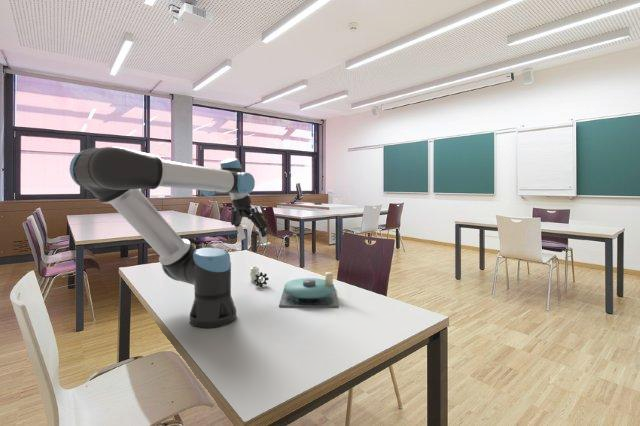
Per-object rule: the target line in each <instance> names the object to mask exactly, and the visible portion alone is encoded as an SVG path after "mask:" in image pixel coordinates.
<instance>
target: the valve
mask: <svg viewBox="0 0 640 426" xmlns="http://www.w3.org/2000/svg"><path fill="white" fill-rule="evenodd" d="M249 275H250V282H251V283H255V286H256V287H258V286H259V287H260V288H262V287H263V285H267V284H268V282H267V281H269V277H267V273H263V271H260V267H259V266H252V267H251V266H250V274H249Z"/></svg>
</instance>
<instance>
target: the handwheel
mask: <svg viewBox="0 0 640 426" xmlns="http://www.w3.org/2000/svg"><path fill="white" fill-rule="evenodd" d="M324 274H325V275H324V277H325V279H322V278H315V277H314V278H313V277H303V278H296V279H292V280H288V281H287V282H285V283H284V287H283V290H284V291H285V293H286V294H288V295H290V296H293V297H297V298H308V299H310V298H321V297H326V296H329V295H331V294H332V293H333V292H334V287H335V284H334V281H333V280H334V273H333V272H330V271H328V272H327V271H326V272H325V273H324Z"/></svg>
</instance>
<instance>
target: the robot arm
mask: <svg viewBox="0 0 640 426" xmlns="http://www.w3.org/2000/svg"><path fill="white" fill-rule="evenodd" d="M69 173H70V177H71V179H72V181H74V183H75V184H76V185H78V186H79V187H81V188H82V189H84V190H88V191H90V193H92V195H93V196H94V197H95V198H97V200H98V201H100V202H101V203H102V204H110V205H111V206H112V207H113V208H114V209H115V210H116V211H117V213H118V214H120V215H121V216H122V217H123V219H124V220H126V222H127V223H128V224H129V225H130V226H131V227H132V228H133V229H134V230H135V231H136V232H137V233H138V234H139V235H140V236H141V238H142V239H144V241H145V242H146V243H148V245H149V246H150V247H151V248H152V249H153V250H154V251H155V252H156V253H157V254H158V255H159V258H158V261H159V263H160V264H161V267H162V271H163V273H164V274H165V275H166V276H167V277H168V278H170V279H171V280H174V281H177V282H182V283H186V284H188V285H189V284H190V285H193V286H194V300H193V303H192V305H191V309H190V311H189V324H190V325H191V326H193V327H197V328H202V329H211V328H212V329H213V328H218V327H222V326H227V325H228V324H230V323H232V322H234V321H235V320H236V319H237V308H236V306H235V302H234V300H233V299H234V298H233V297H232V262H231V256H230V253H229V252H228V251H227V250H225V249H222V248H218V247H214V248H213V247H201V248H198V249H197V248H196V247H195V245H193V243H192V242H191V241H190V240H189V239H187V238H181V237H180V235H179V234H178V233H177V232H176V231H175V229H173V227H172V226H171V224H169V223H168V222H167V220H166V219H165V218H164V217H163V215H162V214H161V213H160V212H159V211H158V209H156V208H155V206H154V205H153V204H152V202H150V200H149V199H148V198H147V197H146V196H145V195H144V193H143V192H142V191H141V189H143V190H145V189H146V190H156V189H158V188H159V187H161V188H162V187H164V188H174V189H175V188H176V189H184V190H185V189H186V190H198V191H199V192H200V193H201V194H202V195H203V196H205V197H211V196H215V194H218V193H219V194H228V195H229V197H230V199H231V202H232V206H231V207H230V210H231V217H230V225H231V226H234V227H235V229H236V232H237V234H238V237H239V240H240V241H243V240H244V239H246V238H247V237H246V233H245V231H244V226H243V224H242V220H243V218H247V219H248V220H250V222H251V223H253V224H254V226H255V227H256V228H257V229H258V230H257V233H258V236H259V239H260V241H261V245H265V244H266V243H268V239H267V232H266V229H267V228H268V226H269V225H268V224H267V223H266V221H265V219H264V218H263V216H262V215H261V213H260V211H259V209H258V206H254V207H252V206H251V203H252V199H251V196H250V193H251V192H253V190H254V189H255V185H256V181H255V178H254V176H253V174H252V173H250V172H244V171H243V168H242V164H241V163H240V160H239V159H238V158H233V157H232V158H227V159H225V160H222V161H220V168H219V169H218V168H214V167H206V166H202V165H196V164H195V165H194V164H189V163H184V162H183V163H182V162H177V161H172V160H166V159H165V160H164V159H162V158H161V157H160V156H159V155H157V154H152V153H147V152H143V151H139V150H138V151H137V150H134V149H130V148H124V147H120V146H105V147H90V148H86V149H84V150H81V151H80V152H77V153H76V154H75V155H74V156H73V158H71V161H70V165H69Z"/></svg>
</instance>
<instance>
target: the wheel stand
mask: <svg viewBox="0 0 640 426" xmlns="http://www.w3.org/2000/svg"><path fill="white" fill-rule="evenodd" d="M278 307H279V308H339V302H338V298H337V291H336V287H335V286H334V292H333V293H332V294H331V295H329V296H326V297H321V298H310V299H308V298H297V297H293V296H290V295H288V294H286V293H285V291H284V289H283V291H282V294H281V296H280V300H279V304H278Z"/></svg>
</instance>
